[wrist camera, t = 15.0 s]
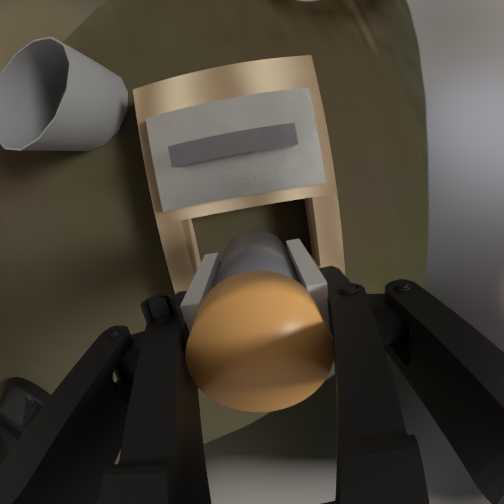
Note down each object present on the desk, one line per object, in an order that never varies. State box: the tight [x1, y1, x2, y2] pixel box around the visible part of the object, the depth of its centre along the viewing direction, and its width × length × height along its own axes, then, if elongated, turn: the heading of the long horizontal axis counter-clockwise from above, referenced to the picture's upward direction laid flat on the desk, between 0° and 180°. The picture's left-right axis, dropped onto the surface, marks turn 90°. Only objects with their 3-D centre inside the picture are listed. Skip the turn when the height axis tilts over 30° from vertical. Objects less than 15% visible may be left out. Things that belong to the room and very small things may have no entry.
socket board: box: [133, 55, 345, 295], centre depth 23 cm, size 14×20×4 cm
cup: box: [0, 37, 128, 151], centre depth 18 cm, size 8×8×10 cm
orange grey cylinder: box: [185, 229, 334, 412], centre depth 13 cm, size 5×5×10 cm
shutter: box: [146, 88, 326, 212], centre depth 19 cm, size 12×7×3 cm, turn 100°
